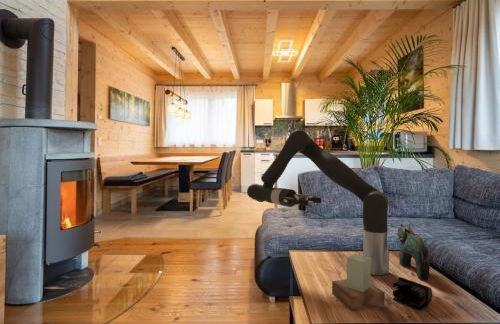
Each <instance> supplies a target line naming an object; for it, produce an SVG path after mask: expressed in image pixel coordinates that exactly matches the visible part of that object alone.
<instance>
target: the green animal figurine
mask: <svg viewBox="0 0 500 324" xmlns="http://www.w3.org/2000/svg"><path fill="white" fill-rule="evenodd" d="M408 225H409V226H404V224H402V223H401V224H400V226H399V228H397V236H396V237H397V239H398V241H399V242H400V247H399V256H398V257H399V265H400V266H402V267H406V268H407V267H410V268H411V267H412V258H413V260H414V262H415V266H416V267H415V268H416V276H417V279H418V280H420V281H425V282H426V281H429V277H430V270H431V269H430V267H431V263H430V254H429V249H428V246H427V244H426V242H425V240H424V239H423V238H422V237H421V236H420V235H419V234H418V233H414V230H413V229H412V228H414V225H413V223H412V222H409V223H408ZM410 226H412V227H410Z"/></svg>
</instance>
